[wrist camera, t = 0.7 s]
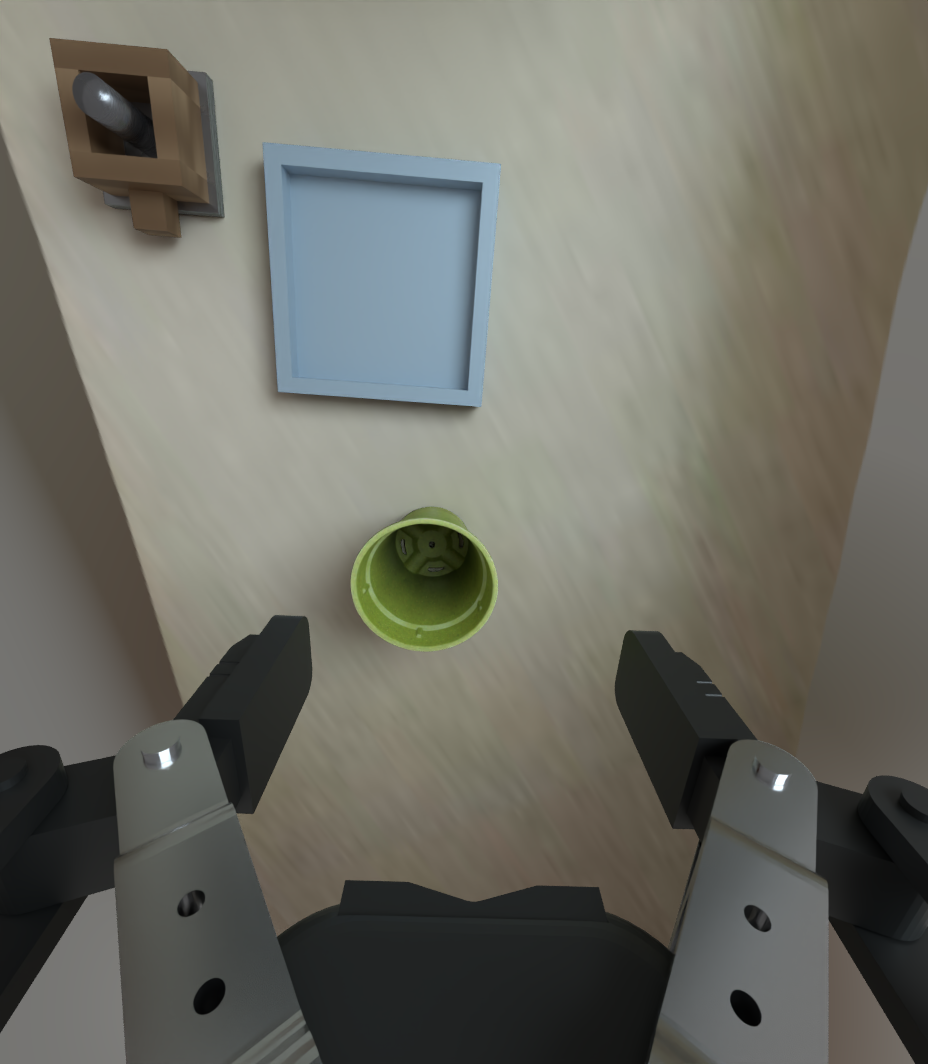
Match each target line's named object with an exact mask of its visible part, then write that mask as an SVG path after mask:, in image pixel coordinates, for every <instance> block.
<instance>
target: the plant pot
mask: <svg viewBox="0 0 928 1064" xmlns="http://www.w3.org/2000/svg"><path fill="white" fill-rule="evenodd" d="M458 532H459V533H461V534H462V539H463V541H464V544H463V547H462V548H460V547H459V536H458ZM402 539H405V548H406V552H407V554H404V553H403V551H402V548H401V541H402ZM430 542H434V543H435V546H434V547H430V546H429V543H430ZM439 567H444V568H443V569H442V570H440V571H436V572H431V571H428V568H439ZM350 582H351V593H352V598H353V602H354V605H355V608H356V610H357V612H358V614H359V615H360V617H361V618H362V620H363V621H364V623H365V624H366V625H367V626H368V627H369V628H370V629H371V630H372V631H373V632H374V633H375V634H376V635H378V636H379V637H380V638H382V639H383V640H385V641H387V642H389V643H391V644H393V645H395V646H398V647H400V648H404V649H408V650H413V651H423V652H430V651H437V650H443V649H447V648H450V647H453V646H456V645H458V644H460V643H462V642H464V641H466V640H467V639H469V638H470V637H472V636H473V635H474V634H476V633H477V632H478V631H479V630H480V629H481V628H482V627H483V626H484V624H485V623H486V622H487V620H488V619H489V617H490V615H491V613H492V611H493V609H494V606H495V603H496V599H497V594H498V579H497V573H496V569H495V566H494V563H493V561H492V558H491V556H490V554H489V553H488V551H487V550H486V548H485V547H484V545H483V544H482V543H481V542H480V541H479V540H478V539H477V538H476V537H475V536H474V535H473V534H472V533H470V532H469V531H468V530H467V528H466V526H465V525H464V523H463V522H462V521H461V520H460V519H459V518H458V517H457V516H456V515H454V514H453V513H451V512H450V511H448V510H446V509H443V508H438V507H425V508H420V509H417V510H415V511H413V512H411V513H410V514H408V515H407V516H406V517H405V518H404V519H403V520H402V521H400V522H397V523H394V524H392V525H390V526H388V527H386V528H384V529H382V530H381V531H379V532H378V533H376V534H375V535H374V536H373V537H371V538H370V539H369V540H368V541H367V543H366V544H365V545H364V546H363V548H362V549H361V551H360V552H359V554H358V556H357V558H356V560H355V562H354V565H353V568H352V572H351V581H350Z"/></svg>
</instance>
